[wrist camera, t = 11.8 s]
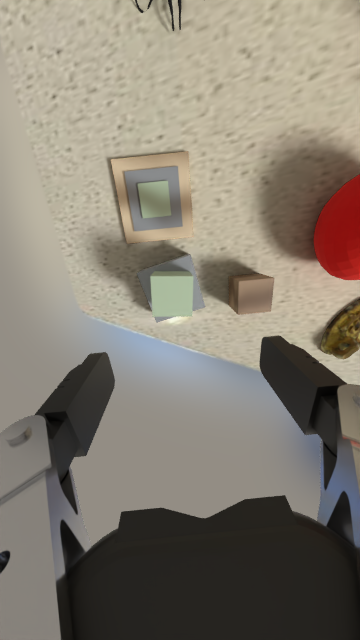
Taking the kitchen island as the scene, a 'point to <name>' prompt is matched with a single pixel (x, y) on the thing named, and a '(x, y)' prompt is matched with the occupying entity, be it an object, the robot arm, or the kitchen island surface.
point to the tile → (154, 196)
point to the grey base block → (172, 265)
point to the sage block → (172, 293)
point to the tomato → (340, 233)
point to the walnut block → (250, 293)
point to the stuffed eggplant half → (343, 333)
